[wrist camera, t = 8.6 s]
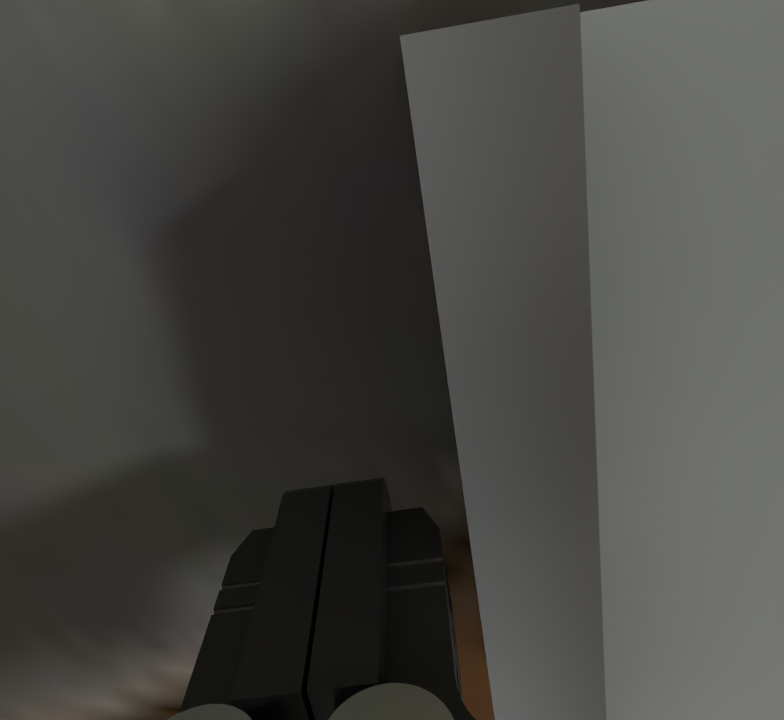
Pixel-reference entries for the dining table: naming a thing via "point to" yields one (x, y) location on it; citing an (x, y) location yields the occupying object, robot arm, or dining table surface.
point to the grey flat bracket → (615, 347)
